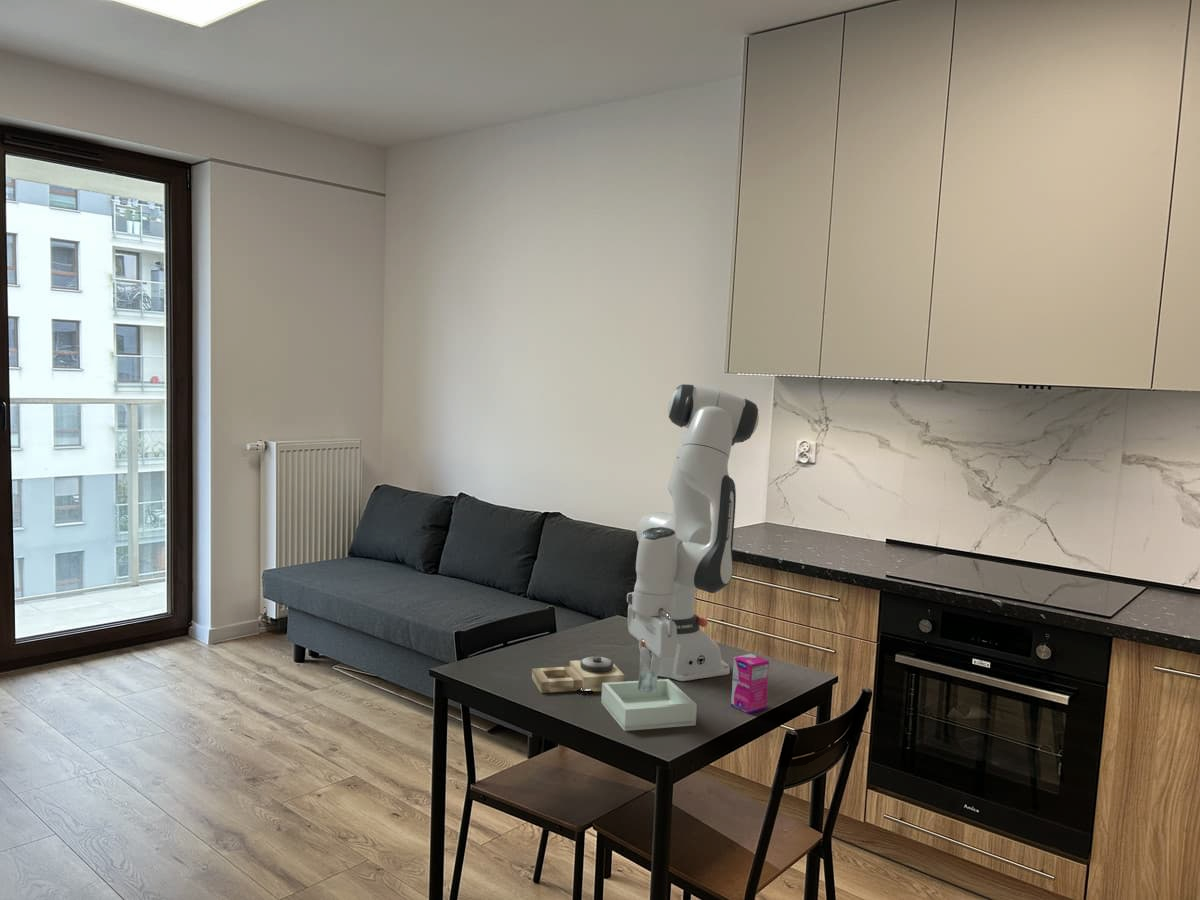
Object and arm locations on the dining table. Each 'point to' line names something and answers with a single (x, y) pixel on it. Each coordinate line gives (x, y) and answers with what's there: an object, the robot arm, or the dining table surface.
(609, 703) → the tray
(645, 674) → the lock pin
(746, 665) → the supplement box
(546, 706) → the dining table surface
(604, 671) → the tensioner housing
